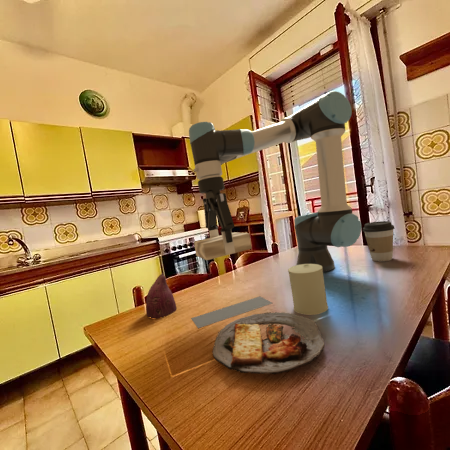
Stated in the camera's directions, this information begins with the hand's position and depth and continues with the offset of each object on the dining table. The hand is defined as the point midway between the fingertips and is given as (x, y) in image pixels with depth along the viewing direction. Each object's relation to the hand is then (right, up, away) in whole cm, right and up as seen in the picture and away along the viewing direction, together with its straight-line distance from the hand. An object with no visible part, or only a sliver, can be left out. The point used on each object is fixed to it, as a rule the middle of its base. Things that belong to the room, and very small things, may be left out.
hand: (223, 251), depth 77 cm
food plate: (+10, -19, -20) cm, 29 cm away
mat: (+3, -18, +1) cm, 19 cm away
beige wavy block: (0, 0, 0) cm, 0 cm away
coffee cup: (+65, -6, +29) cm, 71 cm away
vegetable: (-21, -22, +10) cm, 32 cm away
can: (+24, -15, -5) cm, 29 cm away
